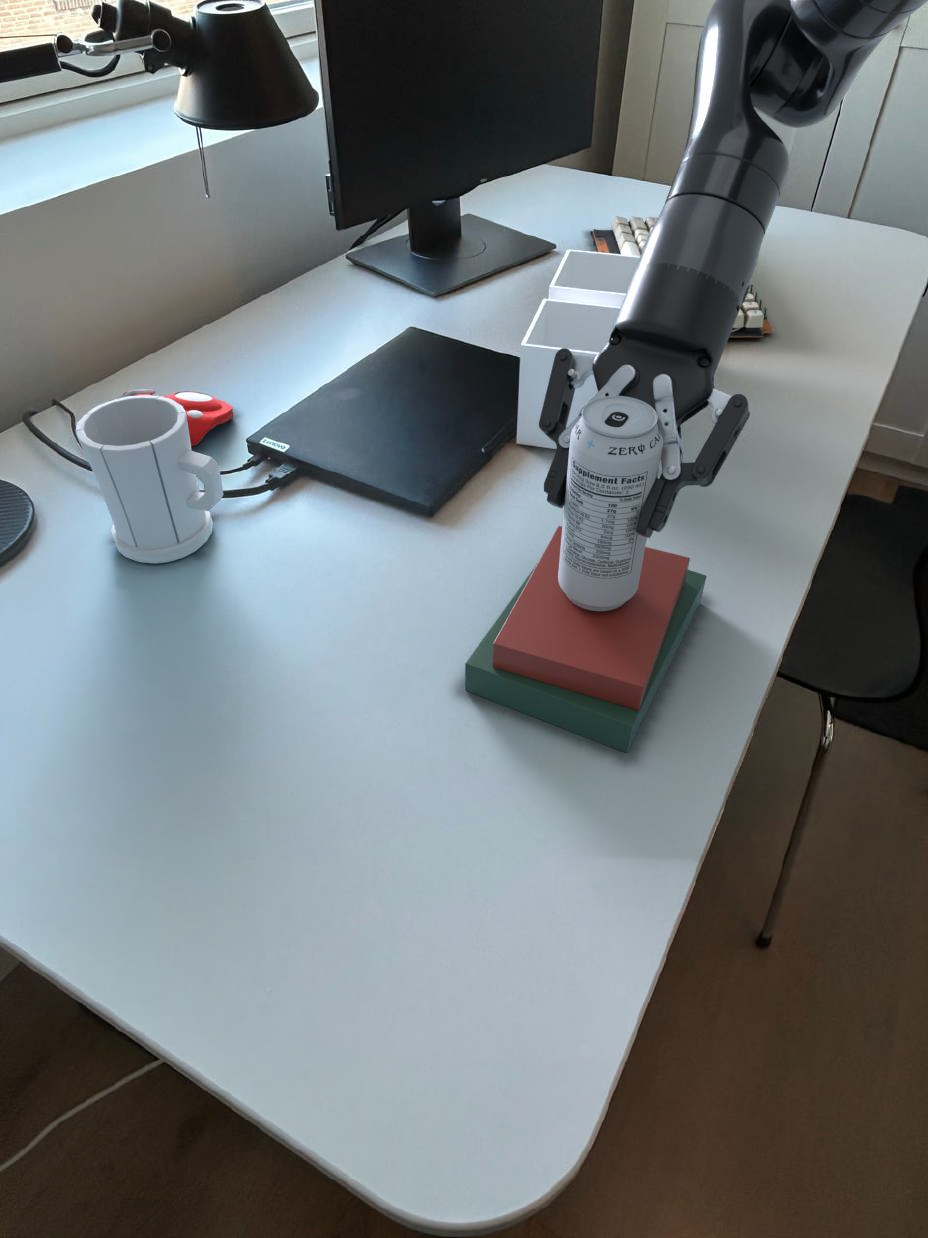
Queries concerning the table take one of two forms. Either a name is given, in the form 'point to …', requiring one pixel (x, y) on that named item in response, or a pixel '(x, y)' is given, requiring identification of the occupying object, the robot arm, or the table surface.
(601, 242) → the mechanical keyboard
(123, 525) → the cup
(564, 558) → the energy drink can
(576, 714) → the book stack
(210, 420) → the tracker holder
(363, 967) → the table surface
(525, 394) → the storage container
